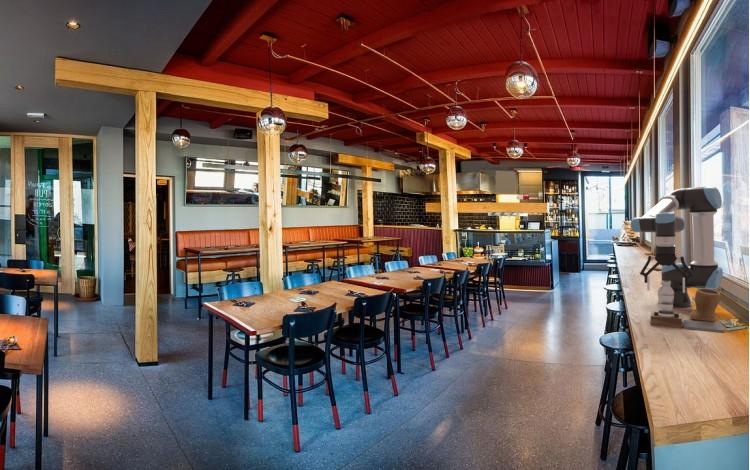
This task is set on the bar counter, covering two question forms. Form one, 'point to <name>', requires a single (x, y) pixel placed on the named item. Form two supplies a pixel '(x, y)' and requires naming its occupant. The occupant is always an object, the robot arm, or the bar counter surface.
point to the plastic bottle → (666, 300)
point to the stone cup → (705, 304)
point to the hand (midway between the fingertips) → (665, 291)
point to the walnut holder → (666, 320)
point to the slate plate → (703, 325)
